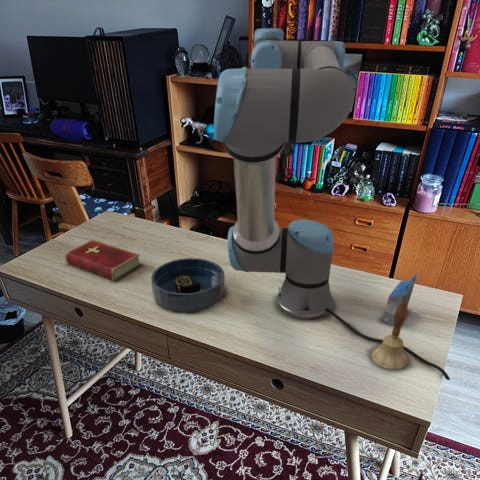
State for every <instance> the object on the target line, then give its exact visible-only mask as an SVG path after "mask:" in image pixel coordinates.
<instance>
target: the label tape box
mask: <svg viewBox="0 0 480 480" xmlns="http://www.w3.org/2000/svg"><path fill="white" fill-rule="evenodd" d="M417 275H418V272H417V271H416V273H414V275H413V276H412V278H411V279H410V280H400V281H399V282H398V283H397V285H396V287H395V288H394V289H393V290H392V291H391V293H390V294H388V298H387V302H386V305H385V309H384V313H383V317H382V322H384V323H386V324H389V325H391V326H394V314H395V311H396V309H397V307H398V306H399V304H400V303H401V301H406V302H407V307H408V306H409V303H410V299H411V296H412V293H413V289H414V287H415V283H416V281H417Z"/></svg>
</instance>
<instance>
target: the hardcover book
mask: <svg viewBox="0 0 480 480" xmlns="http://www.w3.org/2000/svg"><path fill="white" fill-rule="evenodd" d="M64 257H65V261H66V263H67V264H68V265H70V266H73V267H75V268H78V269H80V270H83V271H86V272H88V273H90V274H94V275H97V276H98V277H99V276H100V277H102V278H105V279H108V280H110V281H113V282H117V281H118V280H120V279H122V278H124V277H125V276H127V275H128V274H130V273H132V272H133V271H135V270H137V269H138V268H140V267H141V266H142V264H140V262H139V261H140V260H139V257H140V254H138V253H135V252H132V251H129V250H126V249H123V248H120V247H117V246H113V245H111V244H107V243H105V242H101V241H99V240H95V239H91V240H89V241H87V242H85V243H83V244H81V245H79V246H77V247H75V248H73V249H71V250H68V251H67V252H65V254H64Z"/></svg>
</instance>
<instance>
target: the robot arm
mask: <svg viewBox="0 0 480 480" xmlns="http://www.w3.org/2000/svg"><path fill="white" fill-rule="evenodd" d="M345 57H346V45H345V43H344V42H343V41H338V40H332V39H328V40H307V41H306V40H284V31H283V29H281V28H257V29H255V31H254V37H253V49H252V50H251V54H250V66H251V68H248V67H247V66H243V67H241V68H227V69H225V70H223V71H222V72H221V73H220V75H219V77H218V79H217V87H216V94H215V104H214V116H213V117H214V118H213V138H214V140H215V141H216V142H220V143H223V145H224V149H225V151H226V153H227V155H228V156H229V157H231V158H232V162H233V175H234V186H235V199H236V212H237V220H236V222H235V224H234V225H232V226H231V227H230V228H229V229H228V232H227V242H226V243H227V244H226V245H227V255H228V260H229V264H230V266H231V268H232V269H233V270H235V271H237V272H239V271H240V272H244V273H274V274H275V273H278V274H285V278H284V280H283V283H282V285H281V287H280V286H278V291H279V292H278V294H277V306H278V309H279V310H280V311H281V312H282V313H284V314H285V315H287V316H289V317H291V318H295V319H299V320H316V319H320V318H323V317H325V316H327V315H328V314H330V315H331V316H333V317H334V318H335V319H336V320H338V321H339V322H340V323H341V324H343V325H344V326H346V327H347V328H348V329H349V330H350V331H351V332H353V333H354V334H355V335H357V336H358V337H360V338H363V339H365V340H367V341H371V342H375V343H381V344H382V342H383V340H384V339H380V338H375V337H370V336H368V335H365V334H363V333H362V332H359V331H358V330H357V329H355V328H354V327H353V326H352V325H351V324H350V323H348V322H346V321H345V320H344V319H342V317H340V316H339V315H338V314H337V313H336V312H334V311H332V309H333V303H334V298H333V295H332V292H331V288H330V287H331V286H330V276H331V275H330V274H331V267H332V266H331V265H332V259H333V253H334V250H335V248H334V247H335V246H334V243H335V241H334V240H335V235H334V232H333V231H332V230H331V229H330V228H329V227H328V226H326V225H324V224H323V223H322V222H321V223H320V222H318V221H316V220H310V219H298V220H293V221H291V222H290V223H289V224H288V226H287V227H280V226H279V223H278V222H277V220H276V219H275V203H276V202H275V201H276V181H278V182H281V181H283V180H286V172H287V168H288V162H289V161H288V159H289V157H293V156H294V155H295V152H294V151H295V150H294V148H293V144H295V143H296V144H299V143H301V144H302V143H308V142H309V143H310V142H314V141H316V140H320V139H321V138H323V137H325V136H328V135H330V134H331V133H333V132H334V131H335V130H336V129H337V128H339V127H340V126H341V124H343V123H344V122H345V120H346V119H347V118H348V116H349V115H350V113H351V110H352V108H353V106H354V102H355V101H354V100H355V90H354V89H355V88H354V86H353V82H352V80H351V77H350V76H349V74H347V72H346V71H345V70H344V67H345V60H346V59H345ZM292 143H293V144H292ZM277 156H278V157H277ZM403 351H404V352H407V353H408V354H409V355H411V356H412V357H414V358H415V359H416V360H418V361H420V362H421V363H423V364H425V365H426V366H429V367H431V368H434V369H436V370H437V371H439V372H440V373H441V374H442V375H443V377H444V378H445V380H446V381H450V379H451V378H450V376H449V375H448V373H447V372H446V371H445V370H444V369H443V368H442V367H440V366H439V365H437V364H436V363H433V362H430V361H428V360H426V359H424V358H423V357H421V356H420V355H419V354H417V353H415V352H414V351H412V350H411V349H410V348H408V347H406V346H404V345H403ZM423 477H424V474H423V473H422V472H420V473H419V476H418V478H417V480H423Z"/></svg>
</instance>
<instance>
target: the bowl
mask: <svg viewBox="0 0 480 480" xmlns="http://www.w3.org/2000/svg"><path fill="white" fill-rule="evenodd" d="M186 275H191V276H192V277H193V278H194V279H195V280H196V281H197V282H198V283H199V284H200V285H201V290H200V291H198V292H195V293H177V292H176V291H175V289H174V282H175V280H176V279H177V278H178V277H181V276H186ZM150 279H151V288H152V294H153V298H154V300H155V302H156V303H158V305H160V306H162V307H163V308H164V309H166V310H169V311H171V312H178V313H195V312H200V311H204V310H207V309H210V308H212V307H214V306H215V305H217V304H218V303H219V302H220V301H221V300H222V299H223V297H224V295H225V292H226V279H225V271H224V269H223V268H222V267H221V265H219V264H217V263H216V262H214V261H212V260H208V259H204V258H198V257H197V258H193V257H187V258H178V259H174V260H171V261H168V262H165V263H163V264H161V265H159V266H158V267H157V268H155V270H154V271H153V272H152V274H151V276H150Z"/></svg>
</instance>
